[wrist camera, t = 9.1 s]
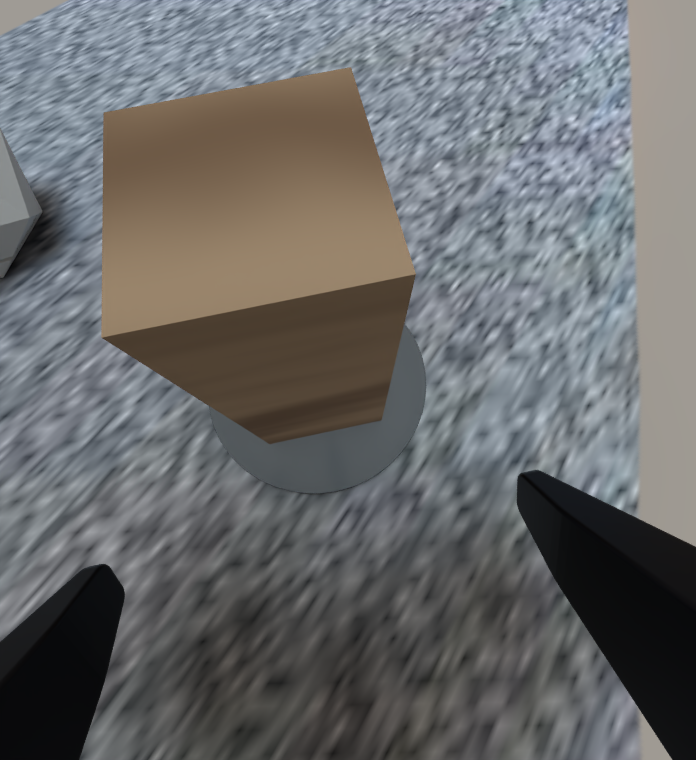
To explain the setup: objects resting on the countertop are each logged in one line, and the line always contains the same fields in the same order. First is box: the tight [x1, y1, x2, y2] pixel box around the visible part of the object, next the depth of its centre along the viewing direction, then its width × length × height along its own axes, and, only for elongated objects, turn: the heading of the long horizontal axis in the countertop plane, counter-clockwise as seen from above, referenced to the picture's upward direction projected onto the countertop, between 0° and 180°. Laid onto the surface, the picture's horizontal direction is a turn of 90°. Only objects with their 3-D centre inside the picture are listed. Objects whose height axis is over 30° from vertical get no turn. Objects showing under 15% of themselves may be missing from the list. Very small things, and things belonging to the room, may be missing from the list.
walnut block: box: [102, 67, 416, 444], centre depth 13 cm, size 6×6×12 cm
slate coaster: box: [209, 323, 426, 493], centre depth 19 cm, size 11×11×1 cm
